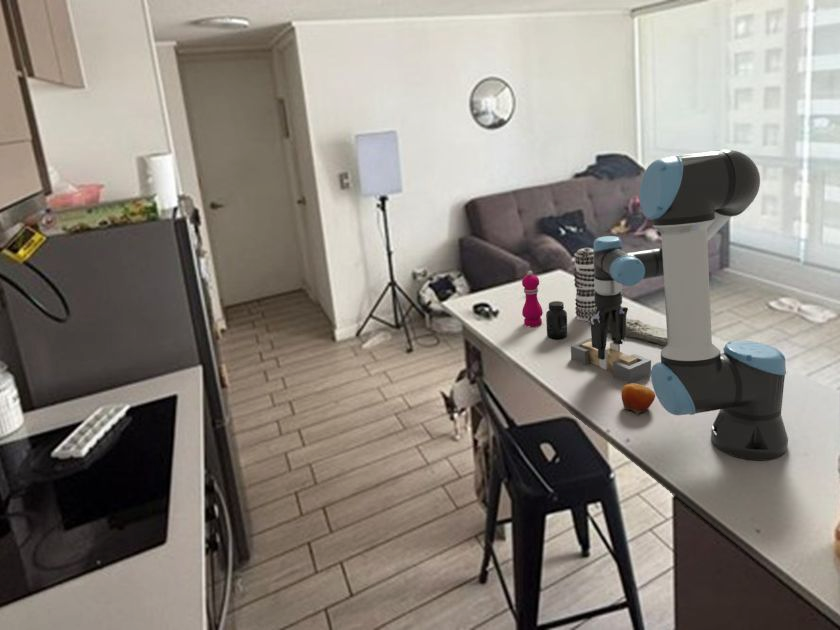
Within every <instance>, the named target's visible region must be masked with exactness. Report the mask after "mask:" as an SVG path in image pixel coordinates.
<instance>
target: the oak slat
mask: <svg viewBox="0 0 840 630" xmlns="http://www.w3.org/2000/svg"><path fill="white" fill-rule="evenodd" d="M582 348H585V349H587V350H589V363H591V364H593V363H594V364H593V365H596V366H598V365H599V358H598V349H596V348H593V347H592V342H591V341H590V342H587V343H585V344H582ZM606 348H607V349H608V369H607V371H611V372H613V362H616V361H618V362H620V363H623V364H625V365H628V366H630V365H633V364H635V363H637V362H638V358H635V357H632V356H630V355H631V354H630V355H629V354H627V353H624V352H621V351H620V352H619V351H616V350H613V349H611V348H610V347H608V346H606ZM598 367H600V365H599V366H598Z"/></svg>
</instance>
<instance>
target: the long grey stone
mask: <svg viewBox="0 0 840 630" xmlns="http://www.w3.org/2000/svg"><path fill="white" fill-rule="evenodd" d="M608 333H611V332H610V327H608ZM620 335H621V334H620ZM625 337H628V338H629V337H630V338H637V339H639V340H640V339H641V340H643V341H645V342H651V343H655V344H658V345H660V346H664V347H666V346H667V344H668V340H667V328H662V327H658V326H653V325H651V324H647V323H644V322H643V321H640V320H638V319H633V318H627V317H626V333H625Z"/></svg>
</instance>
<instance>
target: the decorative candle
mask: <svg viewBox="0 0 840 630" xmlns="http://www.w3.org/2000/svg"><path fill="white" fill-rule="evenodd" d="M593 248H594V247H593ZM593 248H592V247H582V248H579V249H578V250H576V252H575V253H574V254H573V255H574V256H575V262H574V268H573V277H574V279H573V280H574V281H573V282H574V287H575V289H576V293H575V300H574V301H575V306H576V307H575V308H574V309H575V314H576V315H575V317H576V319H577V320H579V321H584V322H585V321H586V322H589V317H592V318H593V317H594V316H595V315H596V310H597V307H596V305H595V298H594V293H595V292H596V291H595V290H594V256H593Z"/></svg>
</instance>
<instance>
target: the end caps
mask: <svg viewBox="0 0 840 630" xmlns="http://www.w3.org/2000/svg"><path fill="white" fill-rule="evenodd" d="M590 341H591V342H592V338H587V339H585V340H582V341H580V342H577V343H574V344H573V345H572V344H571V345H570V360H572V361H575V362H576V363H578V364H581V365H584V366H586V365H589V363H590V362H589V350H587V349H585V348H582V344H585V343H587V342H590ZM630 356H632V357H635V358H638V362H637V363H635V364H633V365H630V366H628V365H625V364H623V363H620V362H618V361H616V362H613V371H612V378H615V379H617V380H619V381H622V382H624V383H626V384H627V385H628V384H631V383H635V382H637V381H640V380H642V379H644V378H647V377H649V376H651V370H652V360H651V359H649V358H646V357H644V356H641V355H639V354H634V353H633V354H630Z"/></svg>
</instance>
